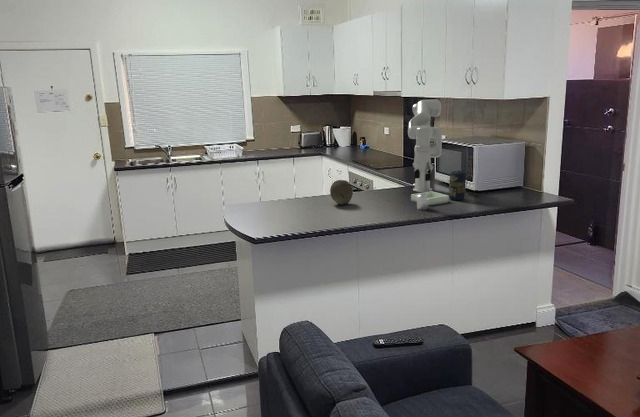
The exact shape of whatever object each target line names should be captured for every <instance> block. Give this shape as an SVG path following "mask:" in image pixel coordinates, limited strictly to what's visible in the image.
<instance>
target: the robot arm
mask: <svg viewBox="0 0 640 417" xmlns="http://www.w3.org/2000/svg"><path fill="white" fill-rule="evenodd" d="M411 108H412V113H413V115H414V116H413V117H412V118H411V119H410V120H409V122H408V126H407V135H408V138H409V139H411V140H415V146H414V149H413V150H414V157H413V158H414V159H413V162H412V167H413V172H414V179H415V180H414V181H415V182H414V183H413V184H412V186H414V187H413V188H412V190H413V191H414V192H417V193H424V192H430V191H433V187H431V177H432V176H431V174H432V172H433V169H434V165H433V164H432V160H431V158H433V159H434V158H435V159H436V158H440V157H441V155H442V150H443V149H442V146H443V145H442V143H443V139H442V138H443V134H442V129H441V128H440V127H439V126H431V117H432V118H433V117H434V118H435V117H440V115H441V113H442V102H441V101H440V100H439V99H436V98H435V99H421V100H419V101H417V103H414V104H413V105H412V107H411Z"/></svg>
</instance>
